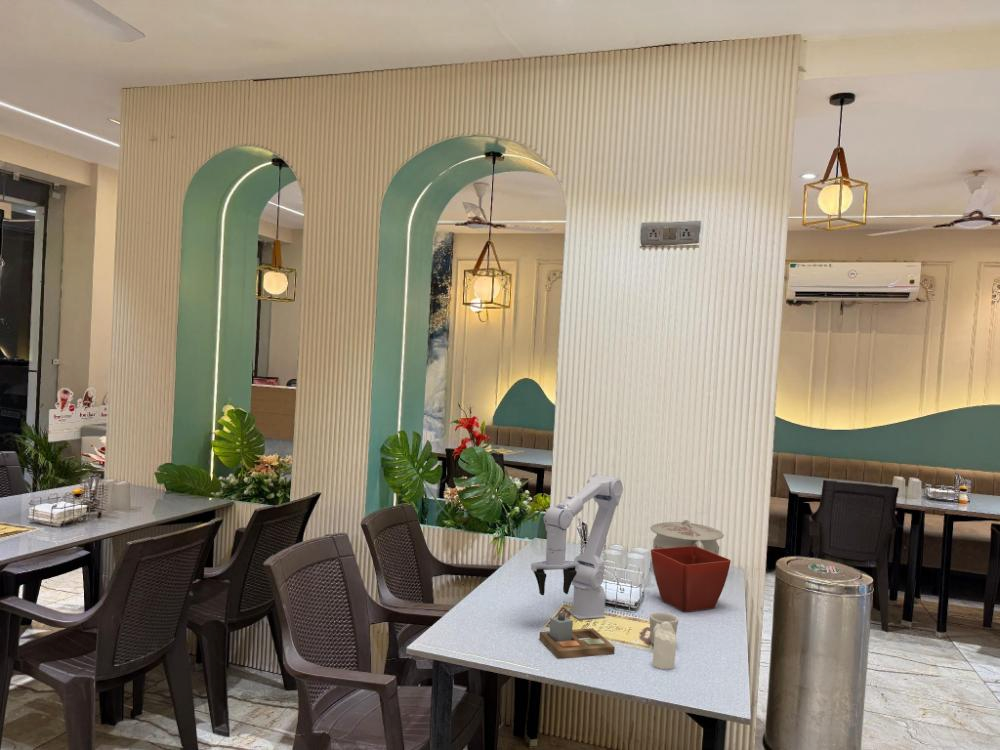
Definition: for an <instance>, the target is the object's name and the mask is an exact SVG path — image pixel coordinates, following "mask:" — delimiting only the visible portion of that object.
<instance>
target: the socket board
mask: <svg viewBox="0 0 1000 750" xmlns="http://www.w3.org/2000/svg"><path fill="white" fill-rule="evenodd" d="M549 633H550V630H549V631H540V632H539V640H540V641H541V643H543V644H544V646H545V647H546V648H547V649H549V651H550V652H551V653H552V654H553V655H554V656H555V657H556V658H557V659H559V660H560V659H570V658H572V659H573V658H582V657H583V658H585V657H594V656H607V655H615V650H616V649H615V645H613V644H612V643H611V642H610V641H609V640H607V639H606V638H605V637H604V636H603V635H601V634H600V633H599V632H598V631H597V630H595V629H594V628H579V629H577V628H576V629H572V640H570V641H557V642H555V641H554V640H553V639H552V638H551V637H550V636H549Z"/></svg>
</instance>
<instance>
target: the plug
mask: <svg viewBox="0 0 1000 750" xmlns="http://www.w3.org/2000/svg"><path fill="white" fill-rule="evenodd" d="M549 619H550V620H549V631H550V633H549V636H550V637H551V638H552V639H553V640H554V641H555V642H557V641H570V640H572V630H573V623H574V622H573V621H574V620H572V619H570V618H568V617H566V613H565V612H558V613H557V616H555V617H553V616H552V617H550V618H549Z"/></svg>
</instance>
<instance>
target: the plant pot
mask: <svg viewBox="0 0 1000 750" xmlns="http://www.w3.org/2000/svg"><path fill="white" fill-rule="evenodd" d="M650 554H651V555H650V556H651V563H652V568H653V573H654V578H655V582H656V586H657V590H658V592H659V596H660V598H661V600H662V601H663V602H664V603H667V604H668V605H670V606H672V607H674V608H676V609H677V610H679V611H682V612H684V613H686V612H687V613H688V612H693V611H694V612H696V611H702V610H703V611H704V610H710V609H714V608H715V607H716V605H717V603H718V601H719V599H720V597H721V594H722V592H723V590H724V587H725V585H726V581H727V577H728V575H729V572H730V566H731V561H732V560H731V559H729V558H727V557H725V556H721V555H720V554H719V555H717V554H714V553H712V552H709V551H707V550H704V549H702V548H699V547H697V546H685V547H673V548H662V549H651V550H650Z"/></svg>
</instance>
